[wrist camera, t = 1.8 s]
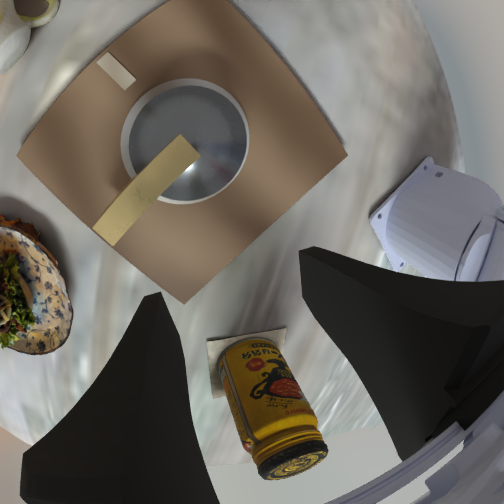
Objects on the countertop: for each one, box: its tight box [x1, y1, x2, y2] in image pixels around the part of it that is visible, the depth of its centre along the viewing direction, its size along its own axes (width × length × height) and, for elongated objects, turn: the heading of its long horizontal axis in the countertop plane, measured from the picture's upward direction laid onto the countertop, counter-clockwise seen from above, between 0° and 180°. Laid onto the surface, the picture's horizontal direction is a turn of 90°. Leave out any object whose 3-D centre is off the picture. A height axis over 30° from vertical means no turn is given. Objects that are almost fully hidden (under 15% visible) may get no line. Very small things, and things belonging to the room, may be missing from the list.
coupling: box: [93, 85, 247, 246], centre depth 13 cm, size 9×6×4 cm, turn 129°
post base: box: [16, 0, 348, 304], centre depth 15 cm, size 16×16×1 cm
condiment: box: [207, 328, 328, 480], centre depth 21 cm, size 7×8×12 cm
